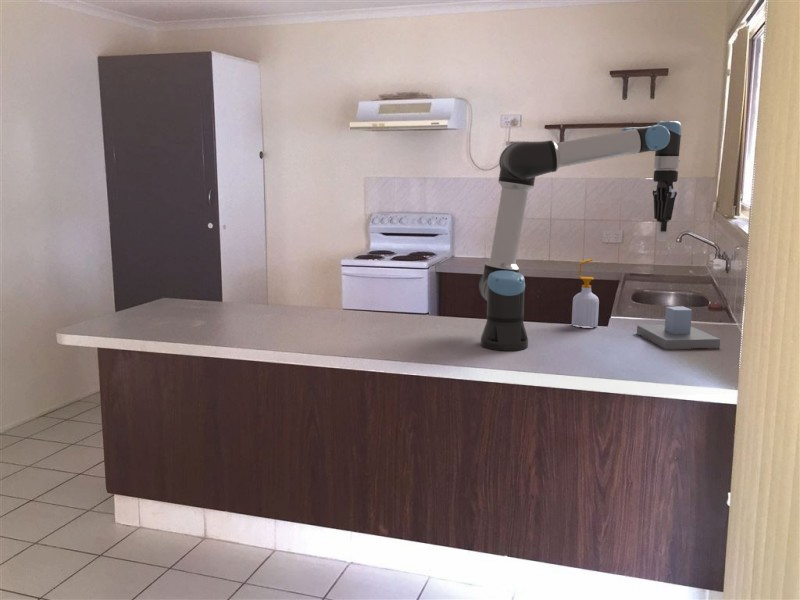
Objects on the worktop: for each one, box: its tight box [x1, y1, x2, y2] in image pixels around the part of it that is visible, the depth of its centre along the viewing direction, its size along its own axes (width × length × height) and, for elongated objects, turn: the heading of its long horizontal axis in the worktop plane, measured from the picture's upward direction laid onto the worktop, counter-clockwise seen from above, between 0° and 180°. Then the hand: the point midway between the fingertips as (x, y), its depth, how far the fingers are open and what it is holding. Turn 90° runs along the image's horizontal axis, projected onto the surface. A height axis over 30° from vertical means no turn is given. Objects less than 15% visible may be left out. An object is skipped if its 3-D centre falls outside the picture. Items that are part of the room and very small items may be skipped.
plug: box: [664, 305, 693, 334], centre depth 243 cm, size 6×6×10 cm
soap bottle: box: [571, 258, 600, 328], centre depth 263 cm, size 9×9×25 cm
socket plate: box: [636, 324, 721, 350], centre depth 244 cm, size 18×22×3 cm
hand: (661, 241), depth 246 cm, fingers closed
